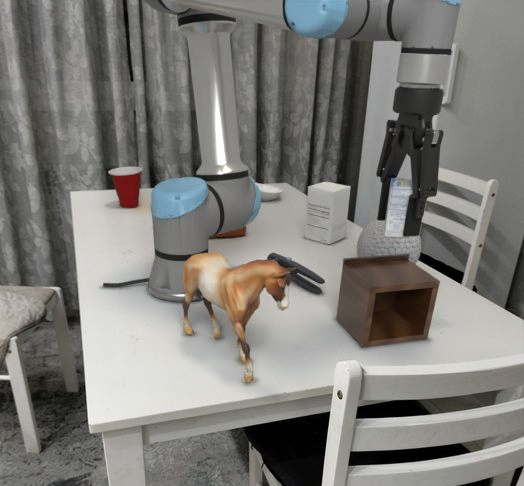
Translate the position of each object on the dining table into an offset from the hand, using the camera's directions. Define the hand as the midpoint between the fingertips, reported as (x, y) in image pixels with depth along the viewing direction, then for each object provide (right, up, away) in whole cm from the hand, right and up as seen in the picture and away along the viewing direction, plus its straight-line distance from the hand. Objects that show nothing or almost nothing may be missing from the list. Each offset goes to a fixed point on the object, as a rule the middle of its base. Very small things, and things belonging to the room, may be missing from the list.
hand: (397, 227), depth 94 cm
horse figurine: (-29, -21, +3) cm, 36 cm away
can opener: (-16, -6, +30) cm, 35 cm away
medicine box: (0, -1, +1) cm, 1 cm away
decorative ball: (+6, -4, +36) cm, 36 cm away
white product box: (-6, +11, +60) cm, 62 cm away
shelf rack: (0, -18, +11) cm, 21 cm away
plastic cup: (-69, +26, +83) cm, 111 cm away
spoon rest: (-29, +33, +96) cm, 106 cm away
